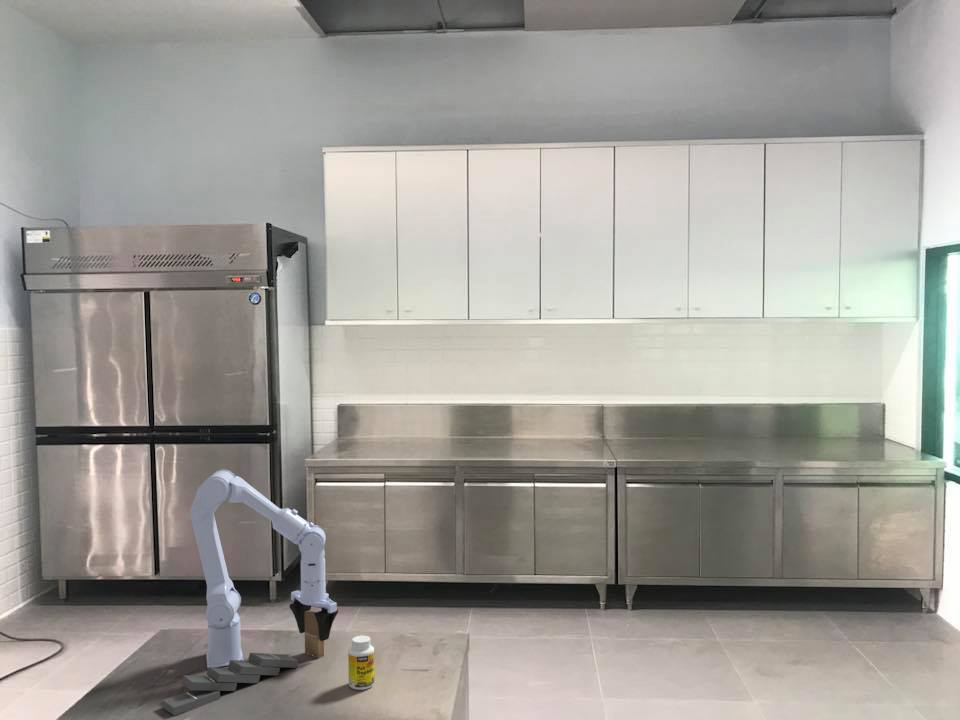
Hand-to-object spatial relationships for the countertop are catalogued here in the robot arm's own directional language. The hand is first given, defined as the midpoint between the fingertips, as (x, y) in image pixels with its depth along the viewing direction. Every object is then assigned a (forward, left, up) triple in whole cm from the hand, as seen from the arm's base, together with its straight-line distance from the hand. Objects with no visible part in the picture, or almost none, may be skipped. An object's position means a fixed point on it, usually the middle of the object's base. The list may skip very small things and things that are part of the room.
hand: (313, 635), depth 186 cm
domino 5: (+3, -6, -4) cm, 8 cm away
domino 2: (+13, -23, -4) cm, 27 cm away
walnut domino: (0, 0, -5) cm, 5 cm away
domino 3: (+8, -15, -4) cm, 17 cm away
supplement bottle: (+20, +7, -5) cm, 22 cm away
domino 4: (+6, -10, -4) cm, 12 cm away
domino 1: (+11, -19, -4) cm, 22 cm away
